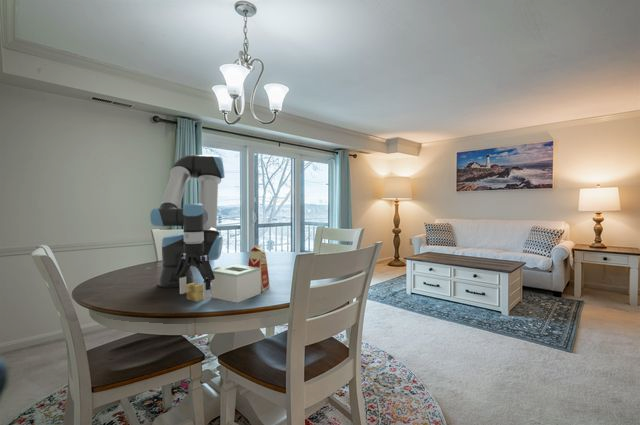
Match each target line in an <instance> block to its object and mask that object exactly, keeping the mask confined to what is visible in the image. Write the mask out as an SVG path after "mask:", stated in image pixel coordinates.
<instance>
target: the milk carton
mask: <svg viewBox="0 0 640 425" xmlns="http://www.w3.org/2000/svg"><path fill="white" fill-rule="evenodd" d="M253 246H254V247H253V248H252V249H250V250H249V257H248V261H247V266H251V267H258V268H261V292H265V291H266V290H267V289H268V288H270V285H271V284H270V277H269V275H270V274H269V269H268V262H267V261H268V260H267V255H266V251H265V250H263V249H262V248H261V246H260V245H257V244H253Z"/></svg>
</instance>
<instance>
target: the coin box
mask: <svg viewBox="0 0 640 425" xmlns="http://www.w3.org/2000/svg"><path fill="white" fill-rule="evenodd" d="M212 271H213V274H214V277H215V279H214V280H211V298H213V299H218V300H222V301H228V302H232V303H241V302H243V301H245V300H248V299H250V298H253V297H256V296H258V295H261V293H262V291H261V268H258V267H251V266H248V265H243V264H236V263H235V264H232V265H228V266H224V267H220V269H216V270H213V269H212Z"/></svg>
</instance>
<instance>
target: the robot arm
mask: <svg viewBox="0 0 640 425" xmlns="http://www.w3.org/2000/svg"><path fill="white" fill-rule="evenodd" d="M223 162H224V161H223V158H222V156H220V155H217V154H215V155H213V154H187V155H184V156H182V157H181V158H179V159H177V160H176V161H175V162H174V163H173V165H172V166H171V168H170V171H169V176H170V177H169V181H168V183H167V186H166V188H165V191H164V195H163V197H162V199H161V203H160V206H159V207H157V208H153V209H151V210H150V216H149V218H150V219H149V220H150V223H151V225H152V226H153V227H183V232H182V233H176V234H169V235H166V236H164V237H163V238H162V240H161V261H162V263H161V265H162V269H161V272H160V275H159V279H158V286H159V287H161V288H179V295H184V294H187V289H186V284H190V283H195V282H194V280H195V278H194V274H193V272H192V269H191V267H195V269H197V270H198V272H199V274H200V275H201V277H202V279H203V282H202V285H203V300H206V299H209V298H210V297H211V290H212V285H211V280H214V279H215V277H214V274H213V271H212V270H213V269H212V266H211V263H210V262H211V261H217V260H218V259H219V258H220V257H221V254H222V249H223V240H224V238H223V235H220V231H219V230H218V229H217V219H218V196H219V194H218V192H219V190H218V189H219V185H220V183H221V182H222V179H225V169H224V168H225V167H224V163H223ZM191 178H194V179H196V180H197V182H199V196H198V197H199V200H198V202H199V203H184V204H183V207H181V208H180V206H181V203H182V199H183V197H184V196H183V195H184V192H185V189H186V186H187V182H188V181H190V179H191Z"/></svg>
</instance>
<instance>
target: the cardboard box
mask: <svg viewBox="0 0 640 425" xmlns="http://www.w3.org/2000/svg"><path fill="white" fill-rule="evenodd" d="M186 289H187V293H186V300H189V301H193V302H200V301H202V300H204V299H203V283H202V284H201V283H197V282H193V283H190V284H186Z"/></svg>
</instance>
